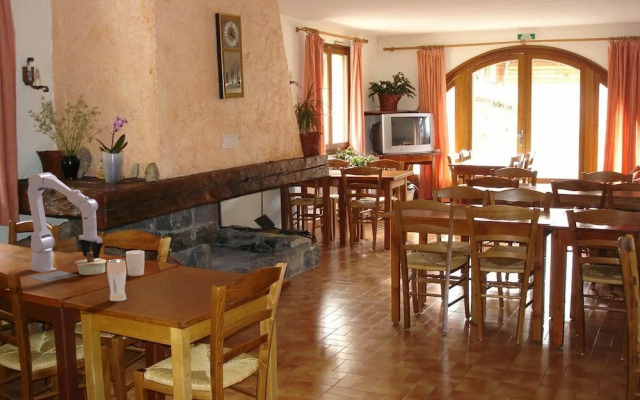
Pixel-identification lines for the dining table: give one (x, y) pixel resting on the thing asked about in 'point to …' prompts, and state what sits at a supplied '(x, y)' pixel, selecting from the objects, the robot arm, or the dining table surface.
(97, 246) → the robot arm
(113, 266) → the beer glass
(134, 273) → the white cup
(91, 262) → the lid
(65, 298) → the dining table surface
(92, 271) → the bowl
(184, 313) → the dining table surface
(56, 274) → the mat
